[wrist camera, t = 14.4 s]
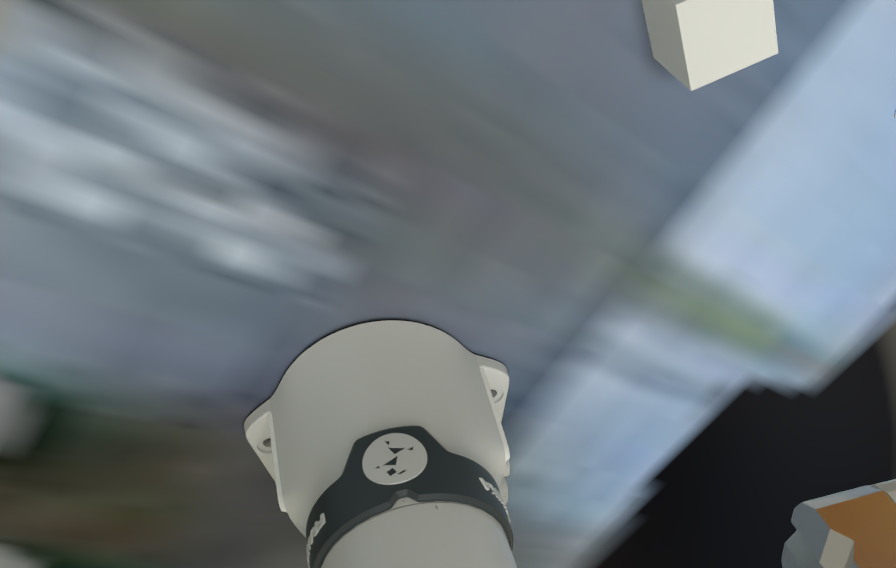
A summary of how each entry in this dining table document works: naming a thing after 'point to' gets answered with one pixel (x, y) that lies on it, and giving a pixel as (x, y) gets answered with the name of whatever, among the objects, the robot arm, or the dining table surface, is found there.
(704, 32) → the grey cube
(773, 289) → the dining table surface
